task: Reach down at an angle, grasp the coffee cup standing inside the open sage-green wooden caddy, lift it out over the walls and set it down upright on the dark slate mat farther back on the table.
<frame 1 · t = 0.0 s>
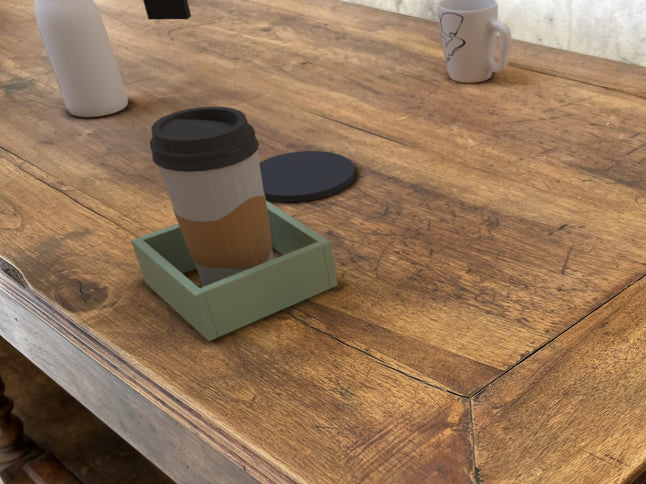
milk bottle: (99, 109, 109), on the table
coffee cup: (241, 286, 73), resting in caddy
caddy: (241, 284, 73), on the table
slate mat: (301, 178, 90), on the table
mug: (478, 79, 117), on the table
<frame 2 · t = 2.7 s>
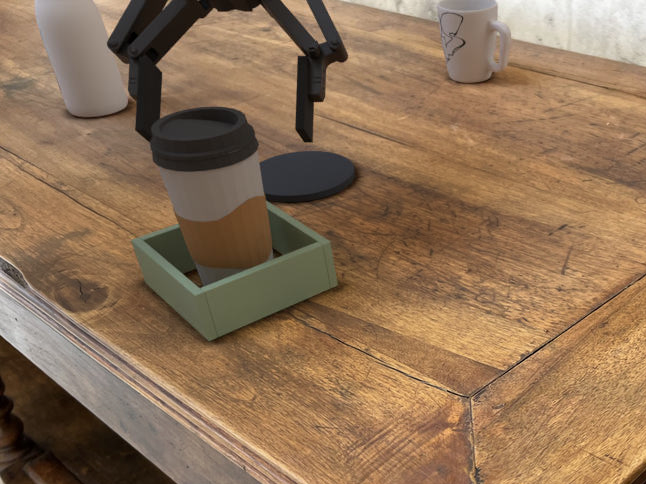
hand: (225, 137, 68), 12 cm above the table, tool tilted 45°, fingers open, 13 cm apart
nothing on the table moved.
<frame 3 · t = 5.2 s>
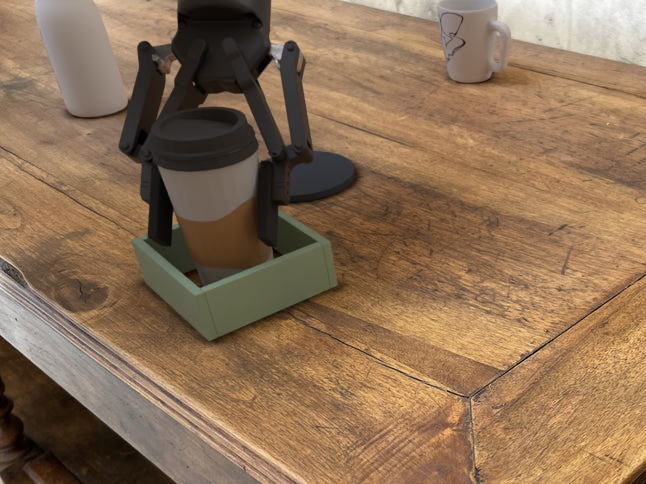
hand: (213, 241, 66), 6 cm above the table, tool tilted 45°, fingers closed on coffee cup, 8 cm apart
coffee cup: (241, 286, 73), resting in caddy, touching gripper
everything else where it was.
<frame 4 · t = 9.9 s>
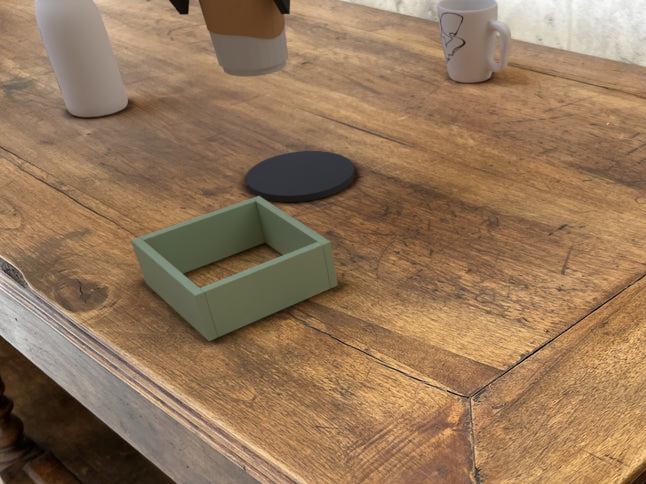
hand: (228, 5, 69), 21 cm above the table, tool tilted 45°, fingers closed on coffee cup, 8 cm apart
coffee cup: (255, 68, 76), point 14 cm above the table, touching gripper
everything else where it was.
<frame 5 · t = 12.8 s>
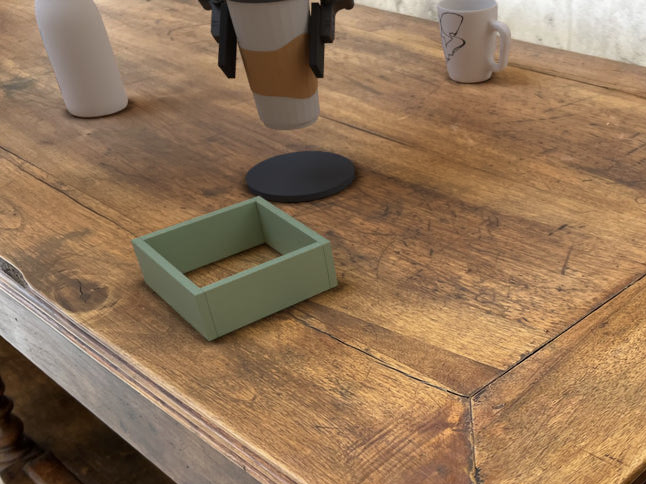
hand: (271, 71, 80), 13 cm above the table, tool tilted 45°, fingers closed on coffee cup, 8 cm apart
coffee cup: (291, 122, 86), point 7 cm above the table, touching gripper
everything else where it was.
when the fingers open (7 cm above the table, at t = 14.9 s): coffee cup stays where it is, resting on slate mat.
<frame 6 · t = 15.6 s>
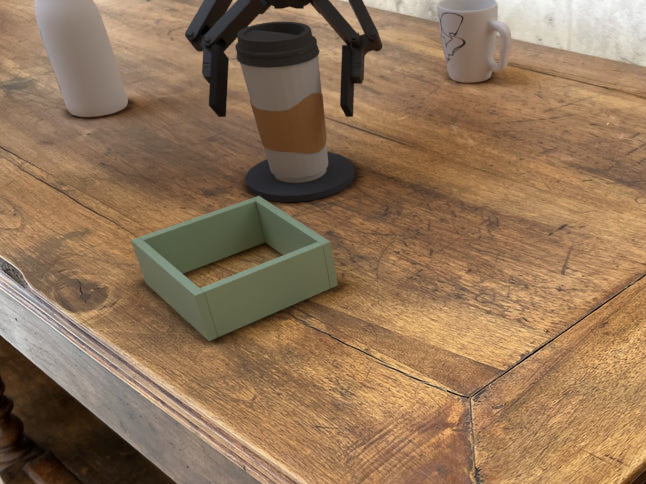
hand: (281, 111, 83), 9 cm above the table, tool tilted 45°, fingers open, 13 cm apart
coffee cup: (300, 173, 90), point 1 cm above the table, touching slate mat
everything else where it was.
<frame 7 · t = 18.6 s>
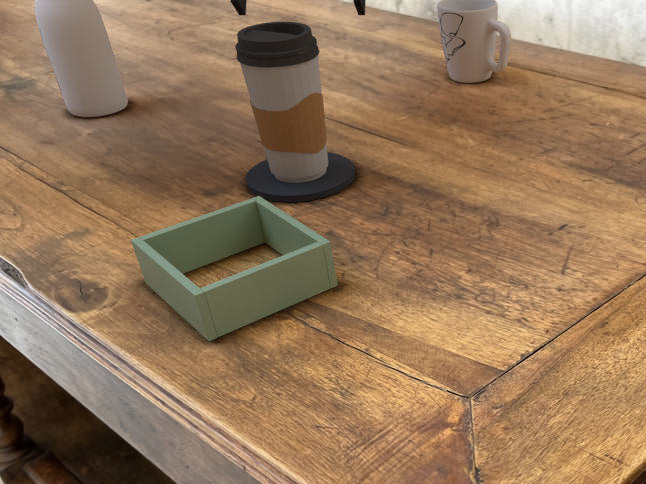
hand: (298, 8, 89), 15 cm above the table, tool tilted 45°, fingers open, 13 cm apart
nothing on the table moved.
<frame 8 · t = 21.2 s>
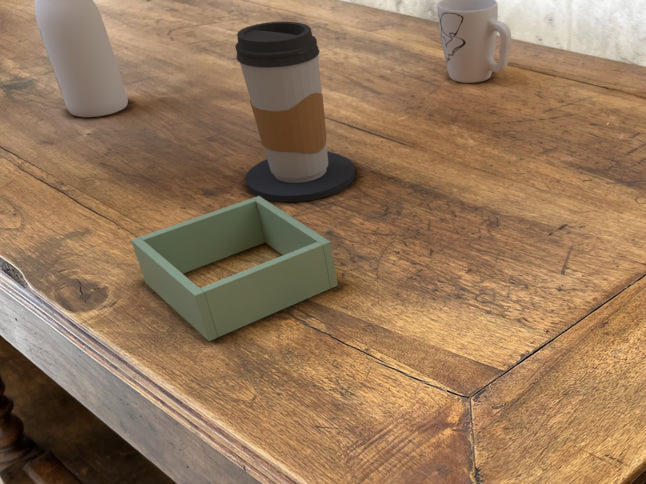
nothing on the table moved.
at the end: coffee cup inside the target area on the slate mat (0.0 cm from its centre), point 0.6 cm above the slate mat's base; coffee cup tilted 0°; the gripper is holding nothing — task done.
